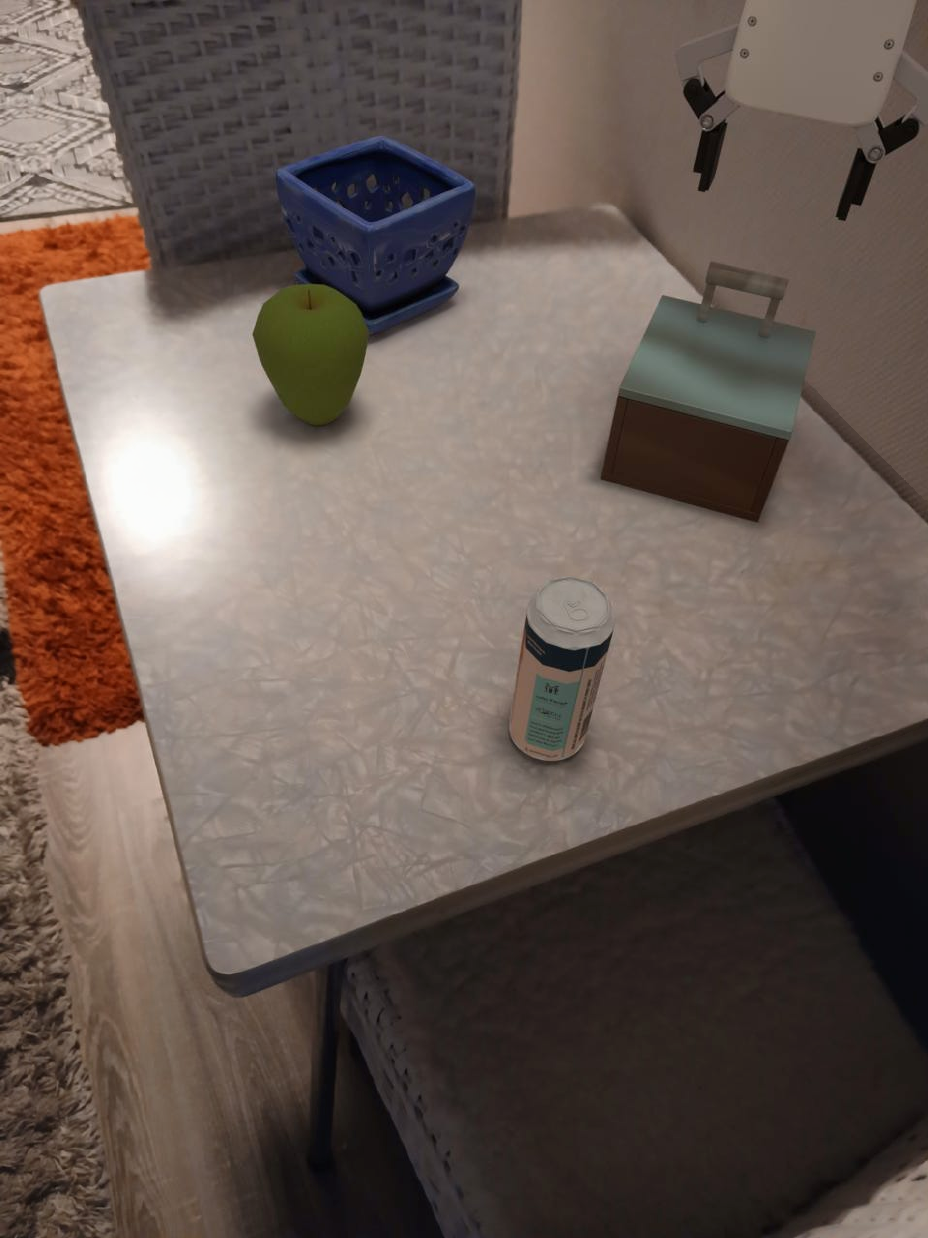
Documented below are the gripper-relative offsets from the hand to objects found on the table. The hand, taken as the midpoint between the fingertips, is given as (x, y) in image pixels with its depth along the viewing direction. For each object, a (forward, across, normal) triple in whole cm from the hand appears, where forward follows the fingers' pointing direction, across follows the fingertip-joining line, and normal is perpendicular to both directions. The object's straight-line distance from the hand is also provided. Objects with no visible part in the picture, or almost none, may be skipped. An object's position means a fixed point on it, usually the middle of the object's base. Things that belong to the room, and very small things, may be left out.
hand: (773, 198), depth 69 cm
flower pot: (+19, +33, -6) cm, 39 cm away
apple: (+19, +30, +13) cm, 38 cm away
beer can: (+20, +3, +36) cm, 41 cm away
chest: (+19, 0, +4) cm, 20 cm away
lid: (+12, 0, +4) cm, 12 cm away
